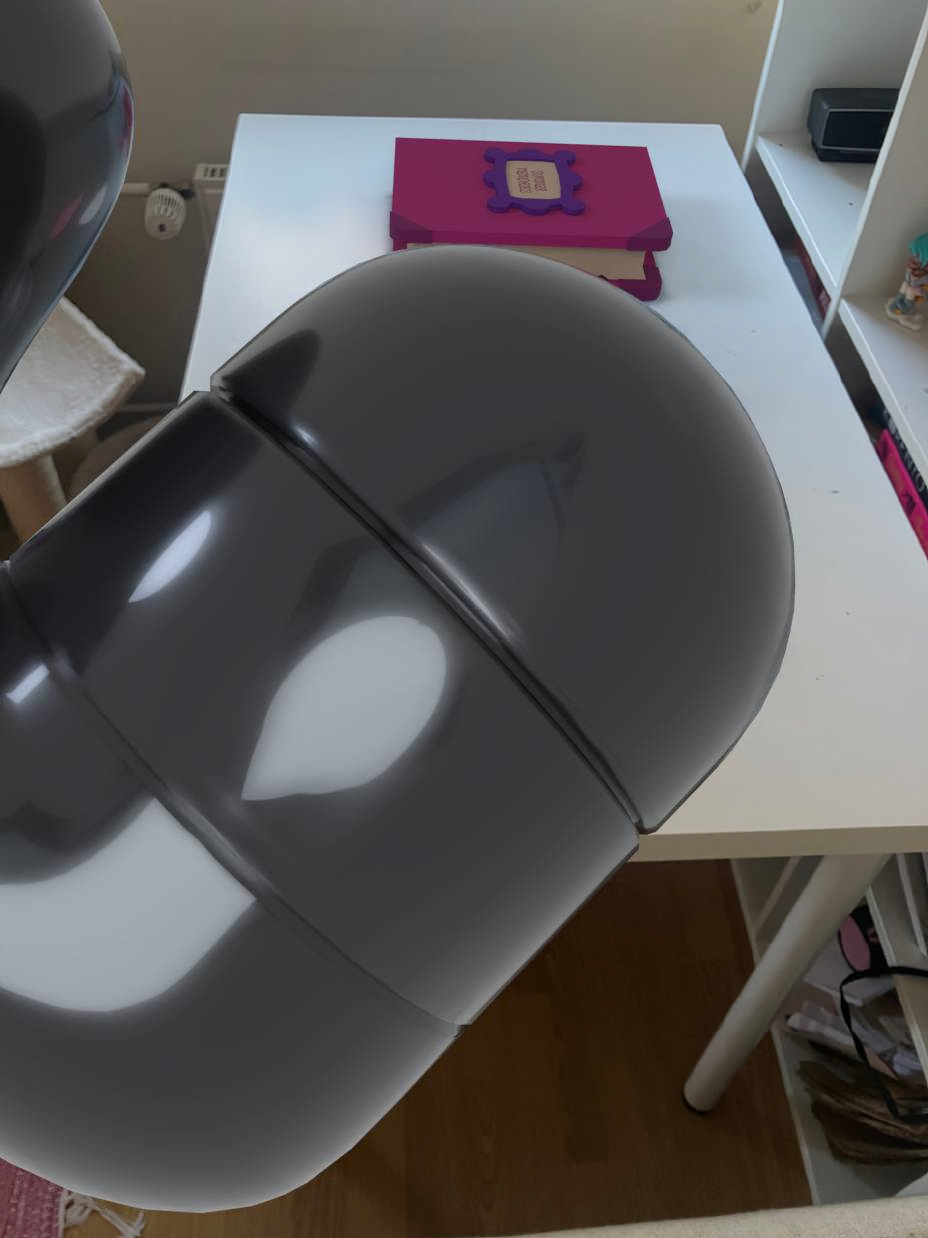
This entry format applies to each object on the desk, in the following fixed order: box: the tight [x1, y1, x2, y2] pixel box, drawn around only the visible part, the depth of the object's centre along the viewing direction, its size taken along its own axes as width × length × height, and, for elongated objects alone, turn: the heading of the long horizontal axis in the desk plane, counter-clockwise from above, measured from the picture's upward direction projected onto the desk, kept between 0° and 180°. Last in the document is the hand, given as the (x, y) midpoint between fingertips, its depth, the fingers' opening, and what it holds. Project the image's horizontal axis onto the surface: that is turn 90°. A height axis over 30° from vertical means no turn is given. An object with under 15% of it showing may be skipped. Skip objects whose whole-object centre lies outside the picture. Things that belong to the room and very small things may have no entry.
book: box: [388, 136, 674, 302], centre depth 107 cm, size 21×28×8 cm
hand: (309, 645), depth 44 cm, fingers open, 8 cm apart
